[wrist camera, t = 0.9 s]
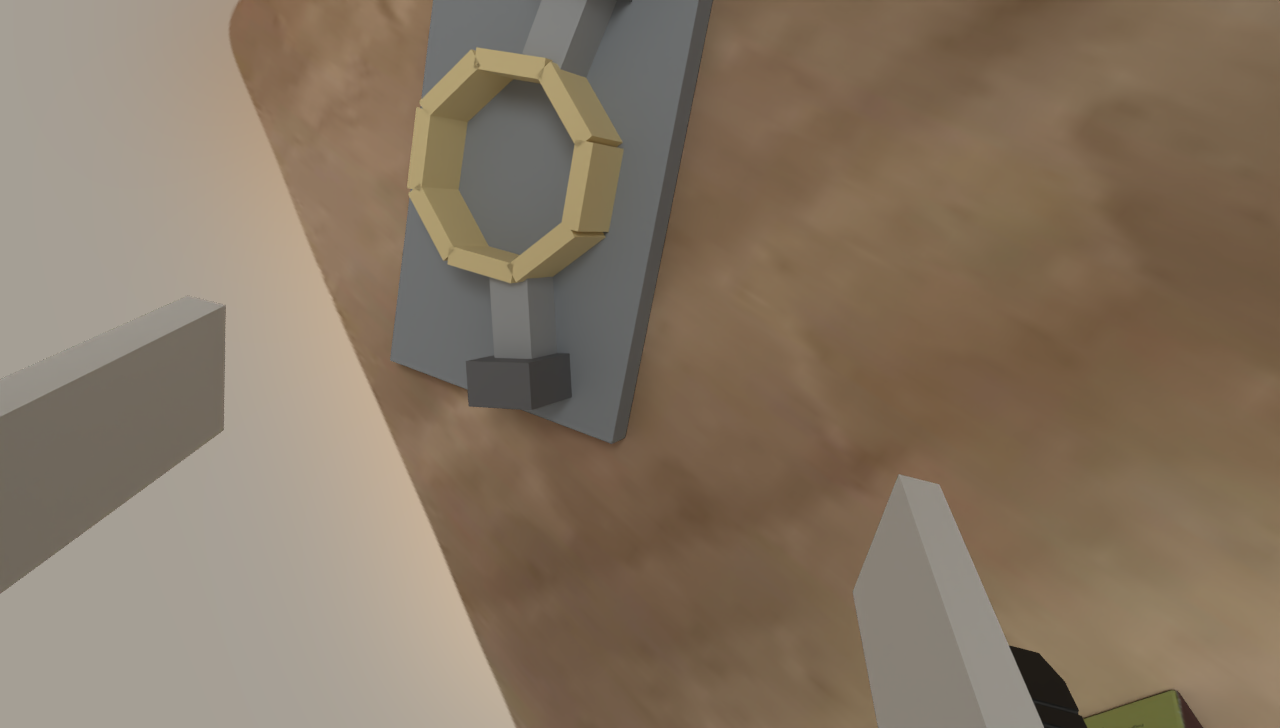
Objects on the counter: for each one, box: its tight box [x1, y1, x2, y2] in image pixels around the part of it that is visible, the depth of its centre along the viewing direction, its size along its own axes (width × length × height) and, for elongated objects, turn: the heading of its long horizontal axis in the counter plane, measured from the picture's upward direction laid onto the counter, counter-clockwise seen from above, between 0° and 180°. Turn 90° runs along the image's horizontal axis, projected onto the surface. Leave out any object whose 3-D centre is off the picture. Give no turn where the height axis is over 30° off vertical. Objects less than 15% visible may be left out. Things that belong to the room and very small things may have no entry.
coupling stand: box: [390, 0, 713, 444], centre depth 42 cm, size 26×16×5 cm, turn 167°
